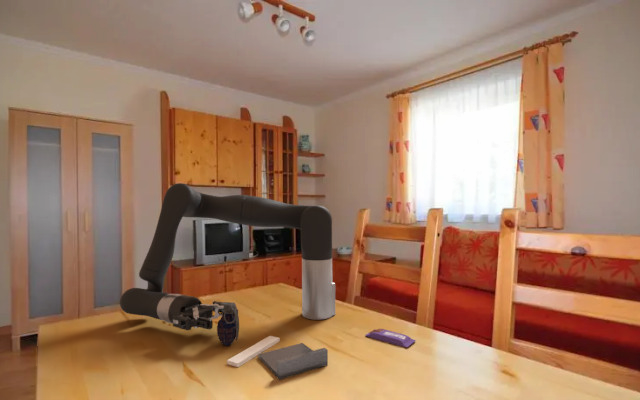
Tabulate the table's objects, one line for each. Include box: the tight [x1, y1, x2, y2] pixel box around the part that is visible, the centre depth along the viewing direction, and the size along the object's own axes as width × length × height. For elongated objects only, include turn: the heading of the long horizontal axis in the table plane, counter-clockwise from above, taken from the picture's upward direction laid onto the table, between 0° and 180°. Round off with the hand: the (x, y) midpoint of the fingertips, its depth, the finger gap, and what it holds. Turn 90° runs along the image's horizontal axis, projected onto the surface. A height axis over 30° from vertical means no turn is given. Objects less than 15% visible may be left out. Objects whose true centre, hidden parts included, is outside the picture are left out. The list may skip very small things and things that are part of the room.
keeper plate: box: [257, 342, 329, 381], centre depth 72 cm, size 11×11×3 cm
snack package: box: [365, 328, 417, 348], centre depth 83 cm, size 12×2×5 cm
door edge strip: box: [226, 335, 281, 368], centre depth 77 cm, size 15×3×1 cm, turn 152°
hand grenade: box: [216, 301, 240, 347], centre depth 80 cm, size 6×5×10 cm
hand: (224, 318), depth 81 cm, fingers open, 8 cm apart
